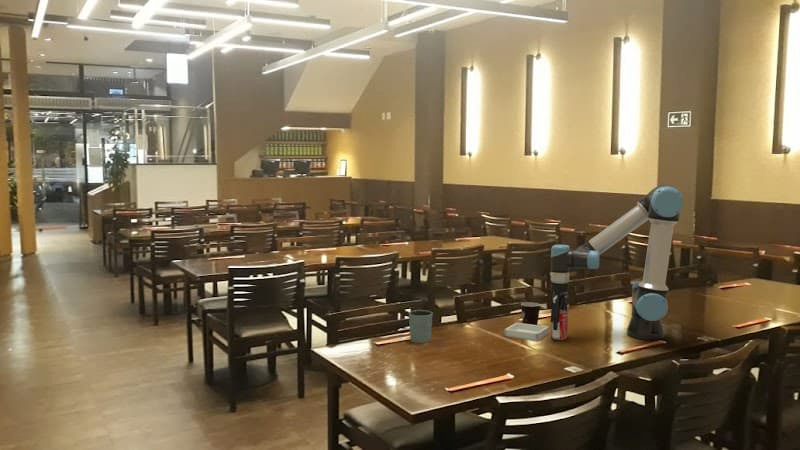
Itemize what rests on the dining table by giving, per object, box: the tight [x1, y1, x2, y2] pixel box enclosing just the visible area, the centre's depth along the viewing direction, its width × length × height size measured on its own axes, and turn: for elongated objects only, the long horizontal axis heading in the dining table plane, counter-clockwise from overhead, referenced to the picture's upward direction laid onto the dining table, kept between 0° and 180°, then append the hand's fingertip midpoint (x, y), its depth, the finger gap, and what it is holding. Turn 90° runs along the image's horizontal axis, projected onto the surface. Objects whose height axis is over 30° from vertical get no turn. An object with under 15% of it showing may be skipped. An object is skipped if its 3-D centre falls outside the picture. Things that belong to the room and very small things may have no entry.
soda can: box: [550, 310, 569, 341], centre depth 274 cm, size 7×7×12 cm
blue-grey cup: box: [408, 309, 434, 344], centre depth 273 cm, size 10×10×12 cm
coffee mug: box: [520, 302, 541, 325], centre depth 298 cm, size 12×9×10 cm
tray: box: [503, 322, 550, 342], centre depth 281 cm, size 15×14×3 cm
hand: (558, 335), depth 274 cm, fingers closed on soda can, 7 cm apart
